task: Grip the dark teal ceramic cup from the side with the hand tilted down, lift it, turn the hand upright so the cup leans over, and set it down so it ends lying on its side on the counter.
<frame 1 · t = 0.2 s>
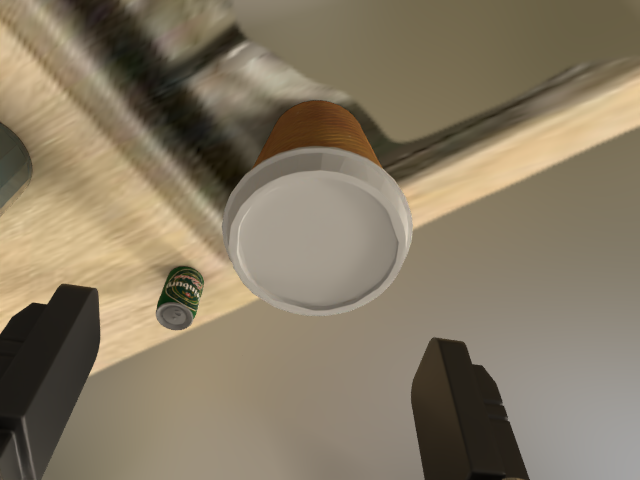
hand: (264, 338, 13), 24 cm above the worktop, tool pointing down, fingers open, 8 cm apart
beer can: (187, 277, 42), on the worktop
disposable coffee cup: (317, 144, 36), on the worktop
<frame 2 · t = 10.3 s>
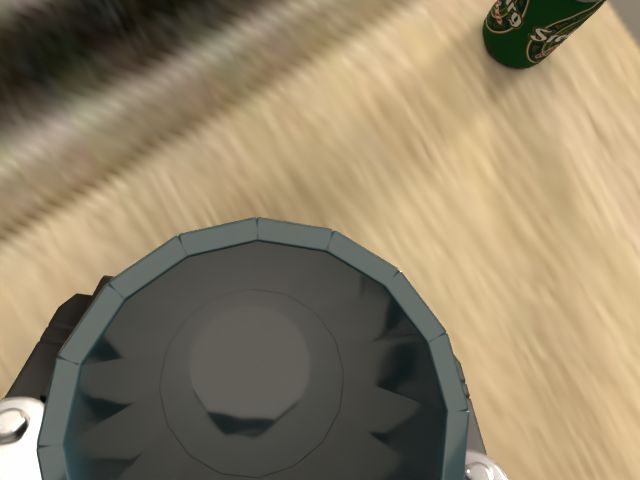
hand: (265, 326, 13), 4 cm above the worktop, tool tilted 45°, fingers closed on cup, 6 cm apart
cup: (253, 379, 17), on the worktop, touching gripper
beer can: (512, 39, 21), on the worktop
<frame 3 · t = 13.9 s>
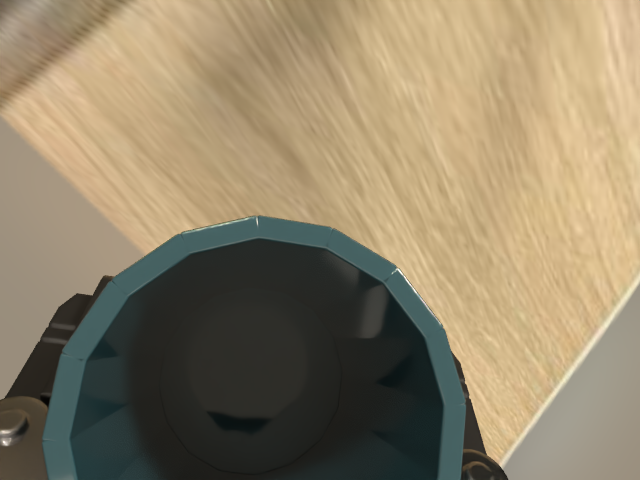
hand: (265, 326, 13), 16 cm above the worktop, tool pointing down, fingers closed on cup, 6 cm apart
cup: (252, 377, 18), point 14 cm above the worktop, tilted 45°, touching gripper
when the fingers open (4 cm above the worktop, at t = 18.3 s): cup moves 2 cm and tips over, point 3 cm above the worktop.
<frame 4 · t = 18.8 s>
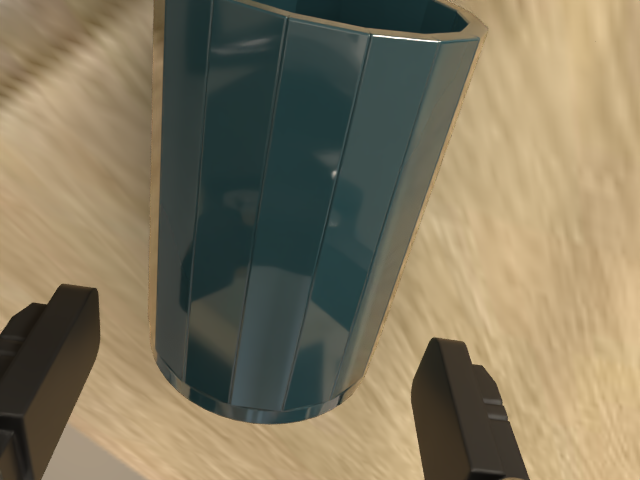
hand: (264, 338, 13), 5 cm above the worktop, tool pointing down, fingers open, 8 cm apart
cup: (263, 332, 16), point 3 cm above the worktop, tilted 90°
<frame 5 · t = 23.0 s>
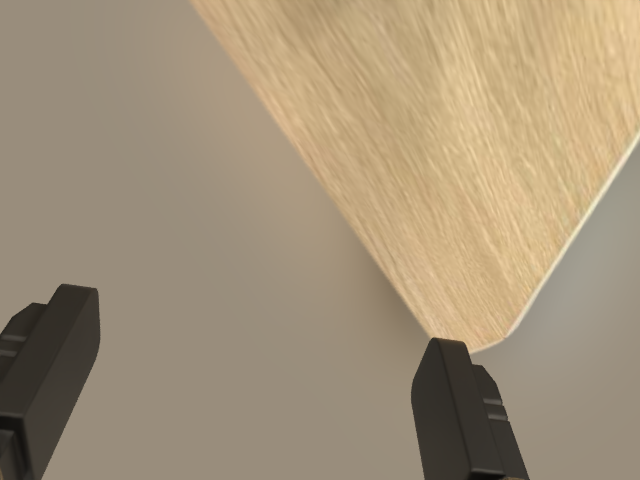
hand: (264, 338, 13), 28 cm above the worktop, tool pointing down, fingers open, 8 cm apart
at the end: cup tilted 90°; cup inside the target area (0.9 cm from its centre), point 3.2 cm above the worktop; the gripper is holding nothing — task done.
